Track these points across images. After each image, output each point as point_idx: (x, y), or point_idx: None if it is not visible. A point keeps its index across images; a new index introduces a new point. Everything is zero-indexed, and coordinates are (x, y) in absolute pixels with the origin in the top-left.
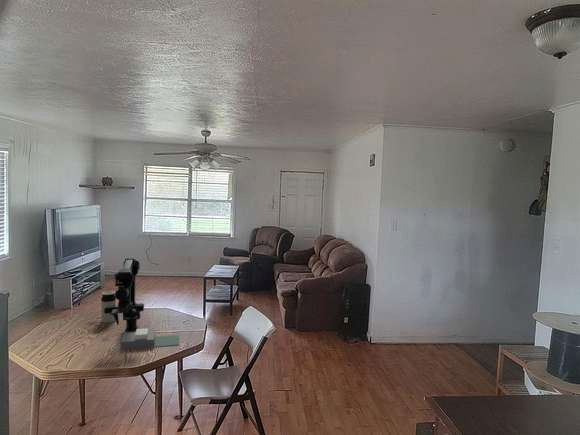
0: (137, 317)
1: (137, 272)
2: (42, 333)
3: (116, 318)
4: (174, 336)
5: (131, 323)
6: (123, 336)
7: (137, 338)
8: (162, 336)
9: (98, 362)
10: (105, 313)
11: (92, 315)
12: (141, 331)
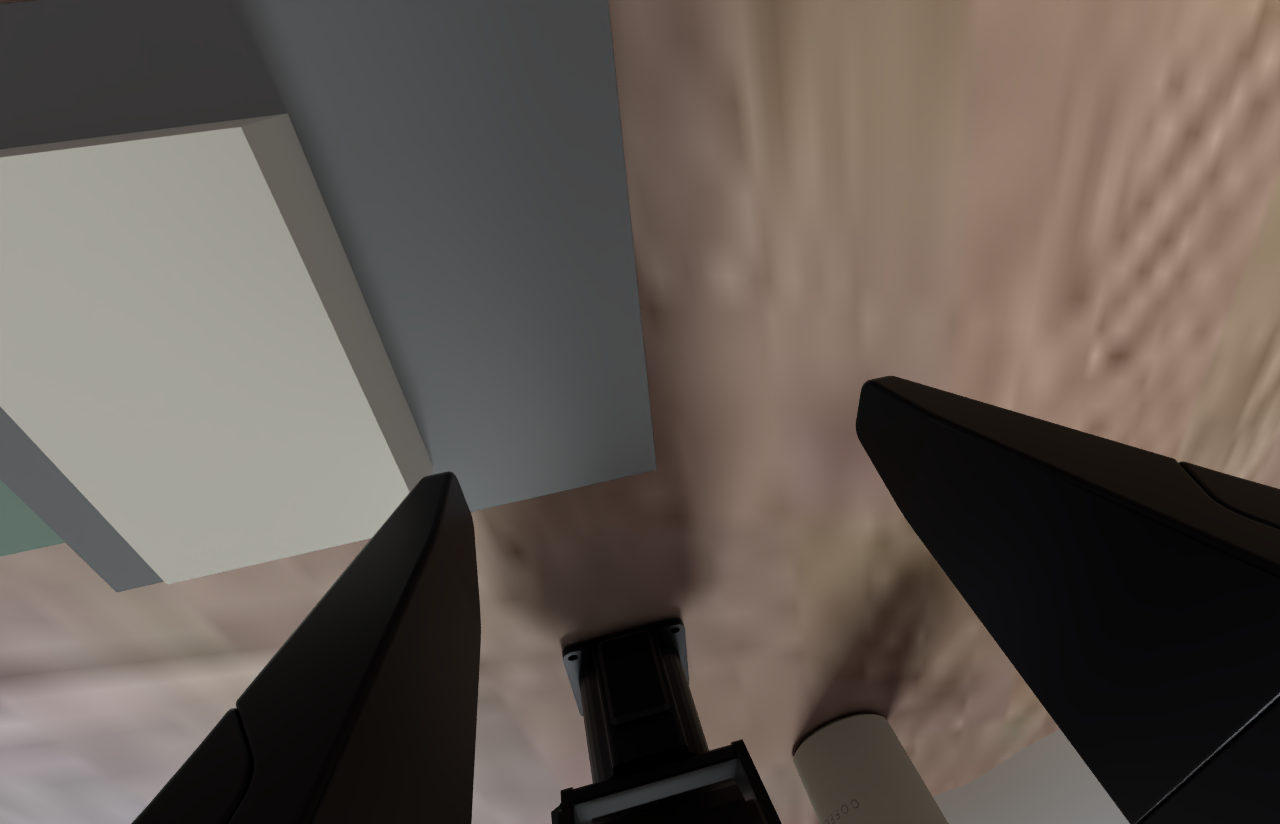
0: (574, 820)
1: None
2: None
3: (1198, 500)
4: None
5: (419, 484)
6: (630, 329)
7: (208, 123)
8: (54, 533)
9: None
10: None
11: (933, 772)
12: (211, 406)
